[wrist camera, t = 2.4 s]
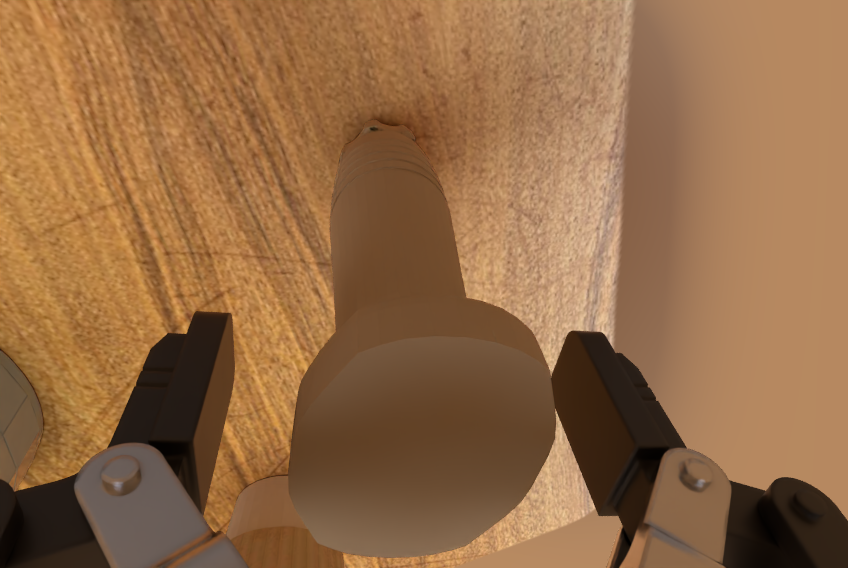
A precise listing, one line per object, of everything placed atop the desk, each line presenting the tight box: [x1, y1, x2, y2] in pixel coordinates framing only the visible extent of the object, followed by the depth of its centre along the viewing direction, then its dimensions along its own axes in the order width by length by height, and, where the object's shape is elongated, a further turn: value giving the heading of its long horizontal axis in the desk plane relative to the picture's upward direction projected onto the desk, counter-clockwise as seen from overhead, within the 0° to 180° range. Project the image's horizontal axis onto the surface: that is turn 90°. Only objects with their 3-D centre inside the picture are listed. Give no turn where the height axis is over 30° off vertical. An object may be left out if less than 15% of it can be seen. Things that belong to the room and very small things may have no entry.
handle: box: [288, 120, 556, 558], centre depth 17 cm, size 5×6×15 cm
